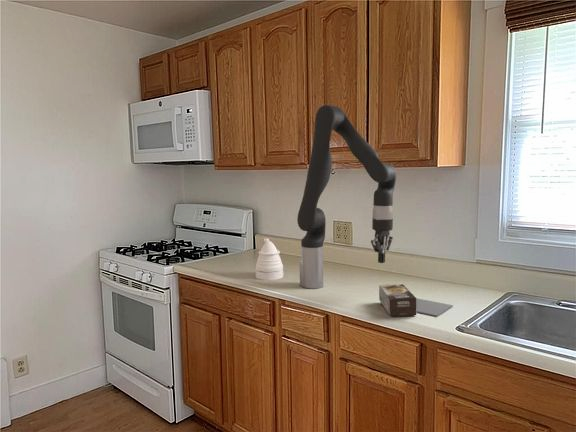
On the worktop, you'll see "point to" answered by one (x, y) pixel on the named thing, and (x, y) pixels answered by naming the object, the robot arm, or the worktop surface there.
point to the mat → (431, 307)
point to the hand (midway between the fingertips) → (381, 262)
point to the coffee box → (397, 300)
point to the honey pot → (269, 262)
